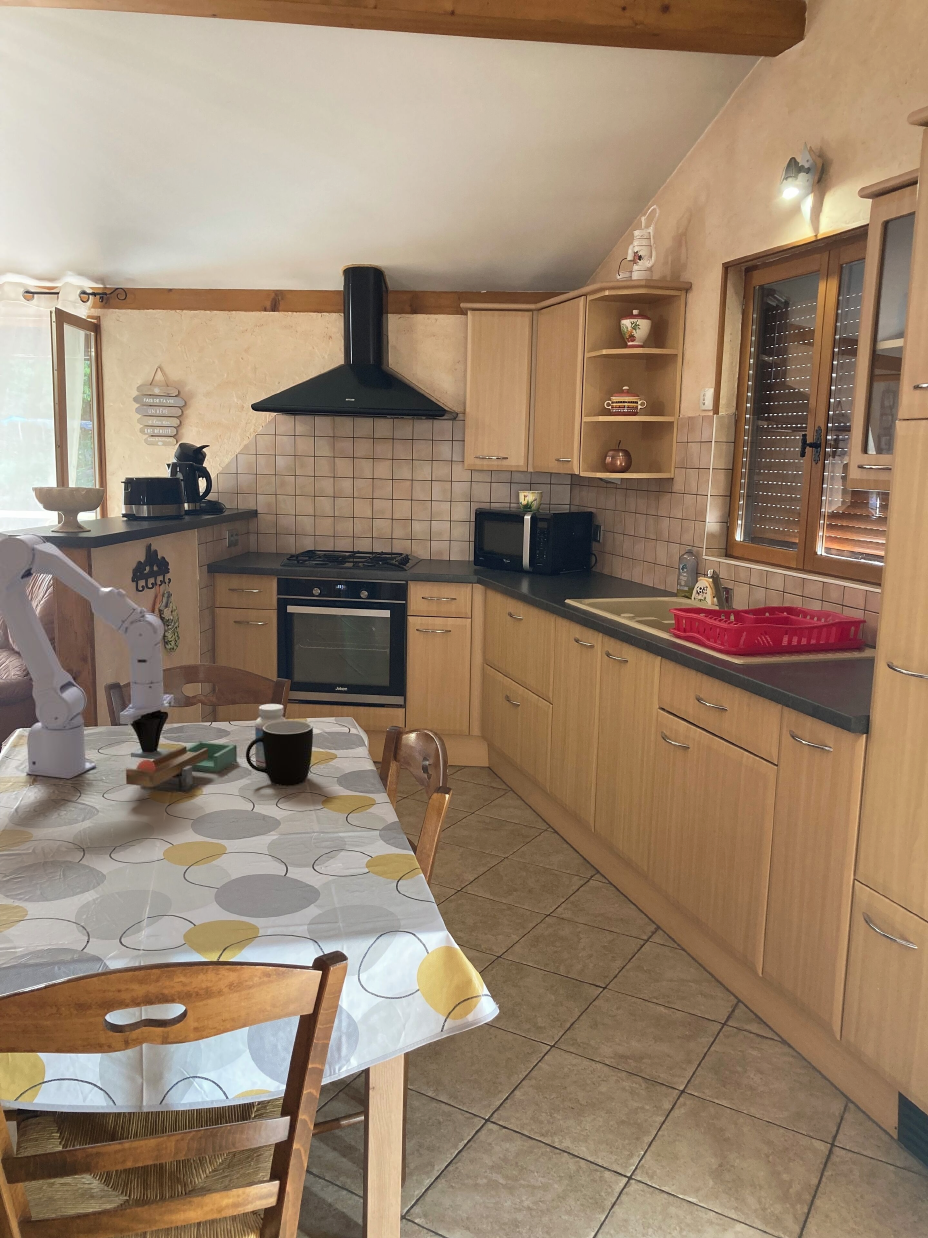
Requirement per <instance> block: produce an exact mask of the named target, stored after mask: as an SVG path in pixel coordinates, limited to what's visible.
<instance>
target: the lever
mask: <svg viewBox="0 0 928 1238" xmlns="http://www.w3.org/2000/svg"><path fill="white" fill-rule="evenodd" d="M186 748H187V746H186V745H183V746H180V747H179V748H176V749H165V748H164V749H163V748H158V749H157V751H154V752H152V753H151V752H142V749H141V747H140V748H138V749H135V750H134V751H131V752H130V758H137V759H145V760H151V761H152V762H153V763H154V764H155V767H156V770H155V773H154V771H150V770H141V769H137V768H131V767H128V768H125V783H126V785H133V786H140V787H141V786H147V787H154V786H156V785H158V784H160V783H161V782H163V781H165V780H167V779H169V778H171V777H173V776H175V775H182V769H183V768H185V767H187V766H194V765H196V764H197V763H199V762H201V761H203V760H205V759H207V758H208V749H207V748H204V749H202V750H200V751H198V752H196V753H195V752H187V751H186Z"/></svg>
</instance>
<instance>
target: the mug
mask: <svg viewBox="0 0 928 1238" xmlns="http://www.w3.org/2000/svg"><path fill="white" fill-rule="evenodd" d="M313 741H314V727H313V725H312V724H311V723H309V722H307V721H303V720H294V719H293V720H291V719H290V720H287V719H286V720H285V721H276V722H272V723H268V724H266V725H265V726H264V727H263V734H262V736H260V737H258V738H256V739H255V738H254V739H253V740H252V741H250V743H248V746H247V748H246V751H245V759H246V762H247V764H248V766H249V767H250V768H251V769H252V770H254V771H256V772H259V773H264V774H266V775H267V777H268V779H269V781H270V782H271V783H272V784H273V785H276V786H282V787H283V786H284V787H291V786H297V785H300V784H303V783H305V782H306V781H307V779H308V777H309V772H310V769H311V762H312V756H313V754H312V753H313V743H314V742H313ZM258 742H262V743H263V749H264V757H265V767H263V766H262V767H261V766H258V765H255V764H254V763H253V762H252V761H251V755H250V754H251V750H252V749H253V747H255V744H256V743H258Z"/></svg>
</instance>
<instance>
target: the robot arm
mask: <svg viewBox="0 0 928 1238" xmlns="http://www.w3.org/2000/svg"><path fill="white" fill-rule="evenodd" d="M34 574H36V575H47V576H48V575H49V576H53V577H55V578H56V579H58V580H59V581H60V582H62V583H63V584H65V585H66V586H67V587H69V588H70V589H72V590H73V591H75V592H76V593H77V594H78V595H81V596H82V597H83V598H85V599H86V600H88V601H89V603H90V606H91V607H90V608H91V612H92V613H93V614H95V615H96V616H97V617H98V618H100V619H101V620H102V621H104V622H105V623H107V625H109V626H110V627H111V628H113V629H114V630H115V631H116V632H118V633H120V634H122V635H123V639H124V641H125V643H126V645H127V646H128V648H129V658H128V659H129V678H130V679H129V681H130V682H129V683H130V701H131V702H130V703H131V704H129V706H128V707H126V709H124V710H123V711H122V712H119V724H121V725H122V724H123V725H130V726H131V728H132V729H133V730H134V732H135V734H136V737H137V739H138V742H139V746H140V748H141V749H142V752H151V753H152V752H154V751H157V749H159V744H160V740H161V735H162V731H163V729H164V726H165V723H166V721H167V720H168V718H169V712H167V711H165V710H167V709H169V708H170V707H173V706H174V705H175V696H174V694H164V669H163V654H162V641H161V640H162V638H163V636H164V634H165V625H164V623H163V621H162V620H161V618H159V616H158V614H155V613H151V612H148V610H147V609H145V607H140V606H138V605H137V604H136V603H134V602H133V601H132V600H130V599H129V598H128V597H126V595H127V592H126V591H124V589H121V588H120V589H116V588H115V587H112V586H111V587H103V586H101V584H99V583H98V582H97V581H96V580H94V579H93V578H92V577H91V576H90V575H89V574H87V573H86V571H84V570H83V569H82V568H80V566H78V565H77V564H76V563H74V562H73V561H72V560H71V559H70V558H68V556H66V555H65V554H64V552H62V551H61V550H60V549H59V548H58V547H57V546H56V545H54V544H53V543H51V542H47V541H46V539H45V538H44V537H42V536H41V535H39V534H37V533H32V532H31V533H30V532H28V533H24V534H22V535H18V536H7V537H5V538H3V539H1V540H0V614H1V617H2V618H3V621H4V623H5V625H6V627H7V629H8V632H9V634H10V635H11V637H12V640H13V641H14V644H15V645H16V647H17V650H18V652H19V654H20V656H21V658H22V660H23V663H24V664H25V666H26V669H27V671H28V673H29V675H30V677H31V679H32V682H33V684H32V693H31V694H32V697H33V700H34V704H35V715H36V716H35V717H36V718H37V720H38V721H39V722H36V723H35V724H33V725H32V726H31V727H30V729H29V731H28V733H27V738H26V743H27V744H26V747H27V764H28V769H27V770H25V774H26V775H27V774H28V775H33V776H34V775H35V776H44V777H51V778H62V779H72V778H74V777H76V776H79V775H80V774H83V773H84V772H87V771H88V770H91V769H93V768H95V767H96V766H97V764H96V762H95V763H93V762H88V761H87V762H86V742H85V723H84V722H85V720H84V718H83V716H82V712H83V711H85V708H86V706H87V702H88V701H87V700H88V698H87V694H86V692H85V691H84V689H83V688H82V687H80V686H79V685H78V684H77V683H76V682H75V681H74V679H73V677H72V675H71V674H70V673H68V672H67V671H66V670H64V669H63V667H62V665H61V663H60V661H59V659H58V656H57V655H56V651H54V648H53V646H52V644H51V642H50V639H49V638H48V635H47V633H46V631H45V629H44V627H43V624H42V623H41V620H40V618H39V616H38V614H37V611H36V610H35V608H34V606H33V603H32V602H31V599H30V597H29V595H28V592H27V587H28V585H29V584H30V582H31V580H32V578H33V576H34Z"/></svg>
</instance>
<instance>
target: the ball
mask: <svg viewBox="0 0 928 1238" xmlns="http://www.w3.org/2000/svg"><path fill="white" fill-rule="evenodd" d="M152 761H153V760H151V759H144V760H142V761H140V762H139V763H138V765H137V766H136V767H137V768H136V769H141V770H150V771H154V773H155V770H156V767H155V764H154V763H153V762H152Z"/></svg>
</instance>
